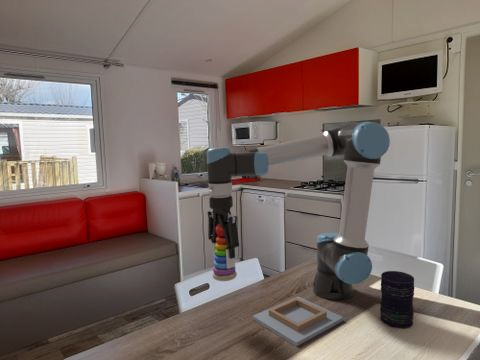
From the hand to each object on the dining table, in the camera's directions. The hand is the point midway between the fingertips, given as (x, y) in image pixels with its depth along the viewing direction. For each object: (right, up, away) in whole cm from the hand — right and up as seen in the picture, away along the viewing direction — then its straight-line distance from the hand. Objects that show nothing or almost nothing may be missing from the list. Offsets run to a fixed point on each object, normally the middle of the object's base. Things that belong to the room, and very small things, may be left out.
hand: (224, 264), depth 115 cm
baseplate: (+24, -19, 0) cm, 31 cm away
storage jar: (+56, -18, -2) cm, 59 cm away
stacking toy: (0, -5, +1) cm, 5 cm away
